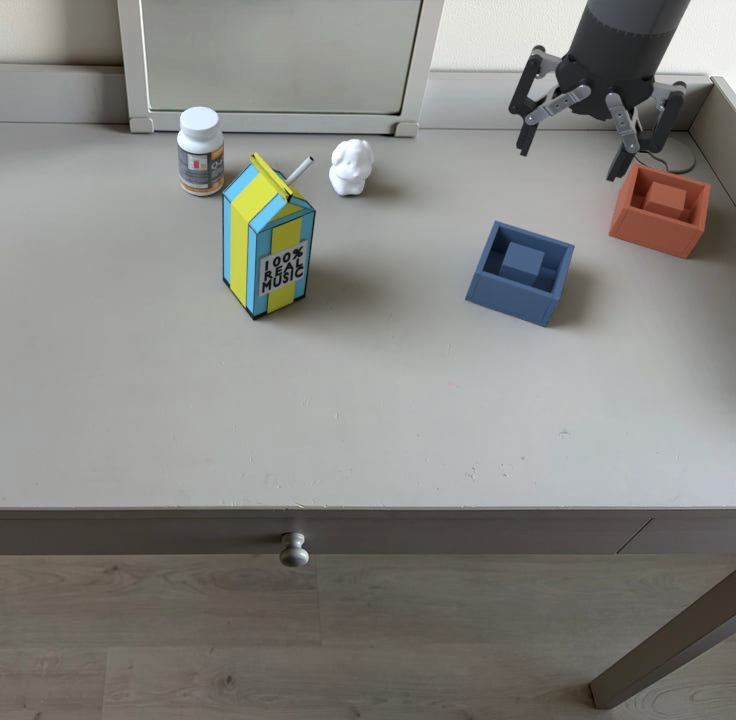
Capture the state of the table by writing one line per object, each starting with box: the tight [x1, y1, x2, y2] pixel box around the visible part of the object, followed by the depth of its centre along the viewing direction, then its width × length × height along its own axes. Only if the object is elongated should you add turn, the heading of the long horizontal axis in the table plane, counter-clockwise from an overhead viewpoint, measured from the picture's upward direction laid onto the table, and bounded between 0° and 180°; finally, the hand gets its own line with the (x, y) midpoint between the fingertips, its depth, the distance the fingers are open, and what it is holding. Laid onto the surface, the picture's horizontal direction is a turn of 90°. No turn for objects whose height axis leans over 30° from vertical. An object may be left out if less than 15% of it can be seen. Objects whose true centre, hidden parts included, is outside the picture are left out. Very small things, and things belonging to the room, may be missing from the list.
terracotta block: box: [639, 182, 686, 220], centre depth 97 cm, size 4×4×4 cm
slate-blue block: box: [497, 242, 545, 287], centre depth 89 cm, size 4×4×4 cm
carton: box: [221, 151, 317, 321], centre depth 83 cm, size 7×8×18 cm
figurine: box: [328, 138, 375, 196], centre depth 98 cm, size 5×8×8 cm
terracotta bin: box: [608, 162, 712, 260], centre depth 97 cm, size 9×9×5 cm
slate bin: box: [464, 220, 576, 328], centre depth 90 cm, size 9×9×5 cm
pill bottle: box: [176, 106, 225, 197], centre depth 97 cm, size 6×6×10 cm
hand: (567, 164), depth 77 cm, fingers open, 8 cm apart
